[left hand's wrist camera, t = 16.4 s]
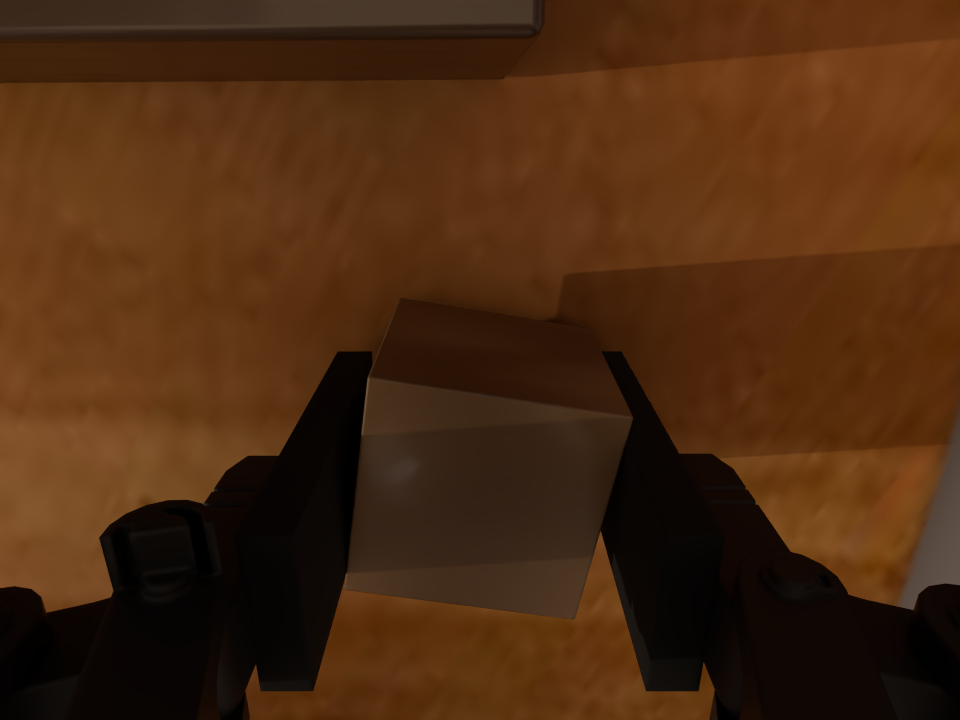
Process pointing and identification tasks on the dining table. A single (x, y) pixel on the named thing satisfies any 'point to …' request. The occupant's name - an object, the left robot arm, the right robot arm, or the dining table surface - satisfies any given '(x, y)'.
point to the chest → (263, 39)
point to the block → (484, 461)
